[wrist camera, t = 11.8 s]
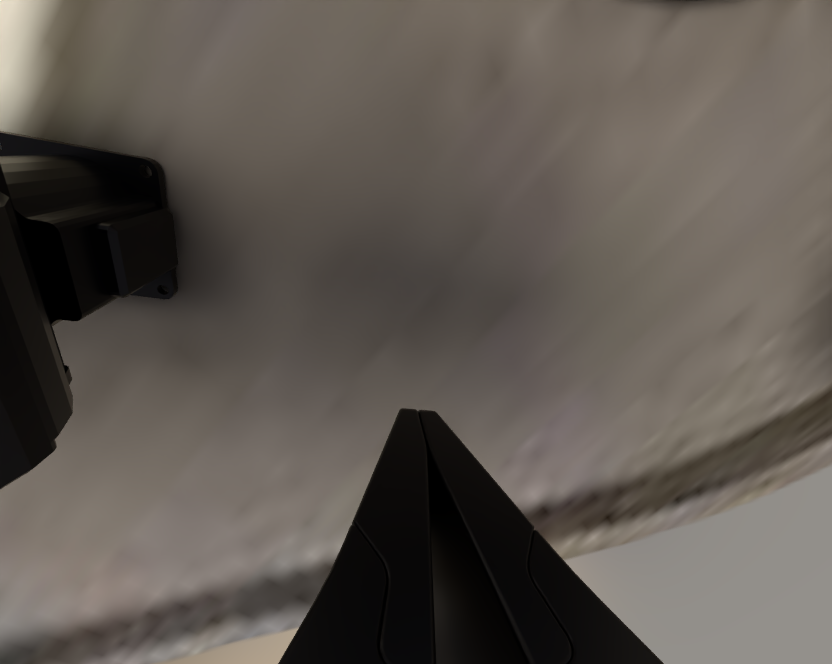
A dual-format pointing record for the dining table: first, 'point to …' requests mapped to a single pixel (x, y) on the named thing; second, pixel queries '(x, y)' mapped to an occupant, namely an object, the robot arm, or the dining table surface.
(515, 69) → the dining table surface
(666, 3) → the dining table surface
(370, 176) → the dining table surface
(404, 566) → the robot arm
